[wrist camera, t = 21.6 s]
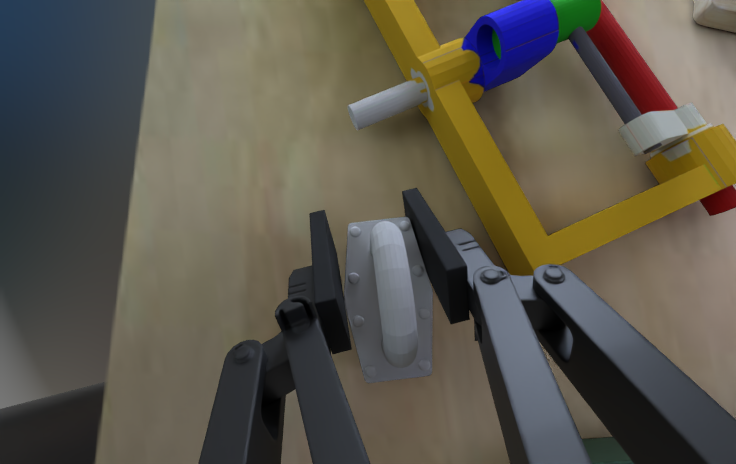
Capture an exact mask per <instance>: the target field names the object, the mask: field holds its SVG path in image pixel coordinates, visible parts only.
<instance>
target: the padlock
mask: <svg viewBox="0 0 736 464" xmlns="http://www.w3.org/2000/svg"><path fill="white" fill-rule="evenodd" d="M432 301H433V290H432V287H431V284H430V281H429V278H428V275H427V272H426V269H425V266H424V263H423V259H422V256H421V253H420V250H419V247H418V244H417V241H416V238H415V235H414V232H413V228H412V225H411V222H410V219H409V218H408V217H399V218H391V219H382V220H373V221H365V222H356V223H350V224H349V225H348V236H347V253H346V270H345V287H344V303H345V308H346V312H347V315H348V319H349V323H350V327H351V330H352V334H353V338H354V342H355V345H356V349H357V353H358V356H359V360H360V364H361V368H362V371H363V375H364V379H365V381H366V382H367V383H374V382H382V381H390V380H398V379H407V378H415V377H423V376H429V375H431V373H432Z"/></svg>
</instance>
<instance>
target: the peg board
mask: <svg viewBox="0 0 736 464" xmlns="http://www.w3.org/2000/svg"><path fill="white" fill-rule="evenodd" d="M693 18H694V20H695V22H697V23H698V24H700V25H703V26H707V27H712V28H716V29H721V30H726V31H730V32H735V33H736V0H694V9H693Z"/></svg>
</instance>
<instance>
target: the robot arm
mask: <svg viewBox="0 0 736 464" xmlns="http://www.w3.org/2000/svg"><path fill="white" fill-rule="evenodd" d="M402 195H403V201H404V208H405V215H406V217H408V218H409V219H410V222H411V225H412V228H413V232H414V235H415V238H416V241H417V244H418V247H419V250H420V253H421V256H422V259H423V263H424V266H425V269H426V272H427V275H428V278H429V280H430V282H431V284H432V286H433V288H434V290H435V292H436V294H437V296H438V298H439V300H440V303H441V305H442V307H443V309H444V311H445V313H446V315H447V317H448V319H449V321H450V323H451V324H454V323H458V322H462V321H466V320H470V318H469V310H470V312H471V314H472V316H473V317H474V328H475V341H478V343H479V346H480V350H481V354H482V358H483V362H484V365H485V369H486V373H487V377H488V381H489V384H490V388H491V392H492V396H493V399H494V403H495V407H496V411H497V415H498V418H499V422H500V426H501V430H502V433H503V437H504V441H505V445H506V449H507V452H508V456H509V460H510V464H592V462H591V460H590V457H589V455H588V453H587V450H586V448H585V446H584V444H583V441H582V439H581V437H580V434H579V432H578V430H577V428H576V425H575V423H574V421H573V418H572V416H571V414H570V412H569V409H568V407H567V405H566V402H565V400H564V398H563V396H562V393H561V391H560V389H559V386H558V384H557V382H556V379H555V377H554V375H553V373H552V370H551V368H550V366H549V363H548V361H547V359H546V357H545V354H544V352H543V350H542V347H541V345H540V343H541V344H542V346H543V347H544V348H545V349H546V351H547V352H548V353H549V355H550V356H551V357H552V358H553V360H554V361H555V362H556V364H557V365H558V366H559V367H560V369H561V370H562V371H563V373H564V374H565V375H566V376H567V378H568V379H569V380H570V382H571V383H572V384H573V386H574V387H575V388H576V389H577V391H578V392H579V393H580V395H581V396H582V397H583V398H584V400H585V401H586V402H587V404H588V405H589V406H590V407H591V409H592V410H593V411H594V413H595V414H596V415H597V416H598V418H599V419H600V420H601V422H602V423H603V424H604V425H605V427H606V428H607V429H608V431H609V432H610V433H611V434H612V436H613V437H614V438H615V440H616V441H617V442H618V443H619V445H620V446H621V447H622V449H623V450H624V451H625V452H626V454H627V455H628V456H629V458H630V459H631V460H632V461H633V463H634V464H736V419H735V418H733V417H732V416H731V415H730V414H729V413H728V412H727V411H726V410H725V409H723V408H722V407H721V406H720V405H719V404H718V403H717V402H716V401H715V400H713V399H712V398H711V397H710V396H709V395H708V394H707V393H706V392H705V391H704V390H702V389H701V388H700V387H699V386H698V385H697V384H696V383H695V382H694V381H692V380H691V379H690V378H689V377H688V376H687V375H686V374H685V373H684V372H682V371H681V370H680V369H679V368H678V367H677V366H676V365H675V364H674V363H672V362H671V361H670V360H669V359H668V358H667V357H666V356H665V355H664V354H662V353H661V352H660V351H659V350H658V349H657V348H656V347H655V346H654V345H653V344H651V343H650V342H649V341H648V340H647V339H646V338H645V337H644V336H643V335H641V334H640V333H639V332H638V331H637V330H636V329H635V328H634V327H633V326H631V325H630V324H629V323H628V322H627V321H626V320H625V319H624V318H623V317H621V316H620V315H619V314H618V313H617V312H616V311H615V310H614V309H613V308H611V307H610V306H609V305H608V304H607V303H606V302H605V301H604V300H603V299H602V298H600V297H599V296H598V295H597V294H596V293H595V292H594V291H593V290H592V289H590V288H589V287H588V286H587V285H586V284H585V283H584V282H583V281H582V280H580V279H579V278H578V277H577V276H576V275H575V274H574V273H573V272H572V271H570V270H569V269H567V268H566V267H563V266H560V265H556V264H546V265H541V266H539V267H537V268H536V269H535V271H534V274H533V275H531V276H517V275H510V274H509V273H508V272H507V271H506V270H505V269H503V268H501V267H497V266H494V264H493V263H492V262H491V260H490V259H489V258H488V256H487V255H486V254H485V252H484V251H483V250H482V248H481V247H480V246H479V244H478V243H477V242H476V241H475V239H474V238H473V237H472V235H471V234H470V233H469V232H467V231H465V230H463V229H461V228H460V229H456V230H452V231H448V232H445V231H444V229H443V227H442V226H441V224H440V223H439V221H438V220H437V218H436V217H435V215H434V214H433V212H432V211H431V209H430V208H429V206H428V204H427V203H426V201H425V200H424V198H423V197H422V195H421V194H420V192H419V191H418V189H417V188H414V189H410V190H405V191H402ZM310 231H311V249H312V266H308V267H304V268H300V269H296V270H293V272H292V274H291V276H290V277H289V286H288V287H289V289H288V299H286V300H284V301H283V302H282V303H281V304H280V305H279V306H278V307H277V309H276V311H275V317H276V319H277V322H278V324H279V326H280V328H281V332H280V333H279V334H278V335H277V336H275V337H274V338H272V339H270V340H268V341H267V342H265V343H263V344H260V342H259V341H256V340H246V341H243V342H240V343H239V344H237V345H236V346H234V347H233V348H232V349H231V350H230V351H229V352H228V354H227V356H226V358H225V361H224V365H223V369H222V373H221V376H220V380H219V384H218V388H217V392H216V396H215V400H214V404H213V408H212V412H211V416H210V420H209V424H208V428H207V432H206V436H205V440H204V444H203V448H202V452H201V456H200V460H199V464H281V452H282V439H283V425H284V412H285V398H286V394H288V393H290V392H291V391H293V390H295V389H296V393H297V397H298V402H299V406H300V410H301V415H302V419H303V423H304V428H305V432H306V436H307V440H308V445H309V449H310V453H311V458H312V462H313V464H370V461H369V458H368V456H367V453H366V450H365V447H364V445H363V442H362V439H361V436H360V434H359V431H358V428H357V425H356V423H355V420H354V417H353V415H352V412H351V409H350V406H349V404H348V401H347V398H346V395H345V393H344V390H343V387H342V384H341V382H340V379H339V376H338V373H337V371H336V368H335V365H334V362H333V360H332V357H331V351H332V354H336V353H340V352H344V351H348V350H352V348H351V341H350V335H349V329H348V322H347V316H346V309H345V303H344V297H343V290H342V284H341V277H340V271H339V265H338V258H337V252H336V249H335V245H334V242H333V238H332V235H331V231H330V228H329V224H328V221H327V217H326V214H325V210H322V211H317V212H313V213H310ZM538 340H539V341H538ZM539 342H540V343H539ZM330 348H331V350H330Z"/></svg>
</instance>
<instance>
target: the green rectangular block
mask: <svg viewBox="0 0 736 464" xmlns="http://www.w3.org/2000/svg"><path fill="white" fill-rule="evenodd" d="M582 441H583V444H584V446H585V448H586V450H587V453H588V455H589V457H590V460H591V462H592V464H634V463H633V461H632V460H631V459H630V458H629V456H628V455H627V454H626V452H625V451H624V450H623V449H622V447H621V446H620V445H619V443H618V442H617V441H616V440H615V438H614V437H606V438H592V439H582Z"/></svg>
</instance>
